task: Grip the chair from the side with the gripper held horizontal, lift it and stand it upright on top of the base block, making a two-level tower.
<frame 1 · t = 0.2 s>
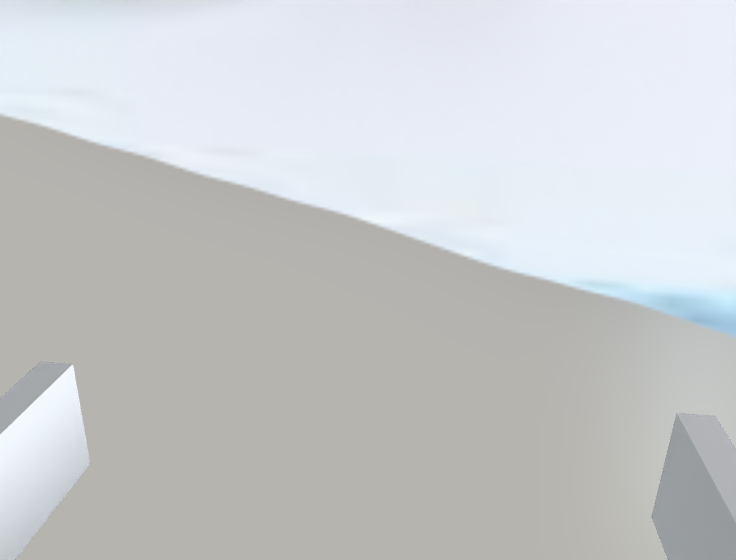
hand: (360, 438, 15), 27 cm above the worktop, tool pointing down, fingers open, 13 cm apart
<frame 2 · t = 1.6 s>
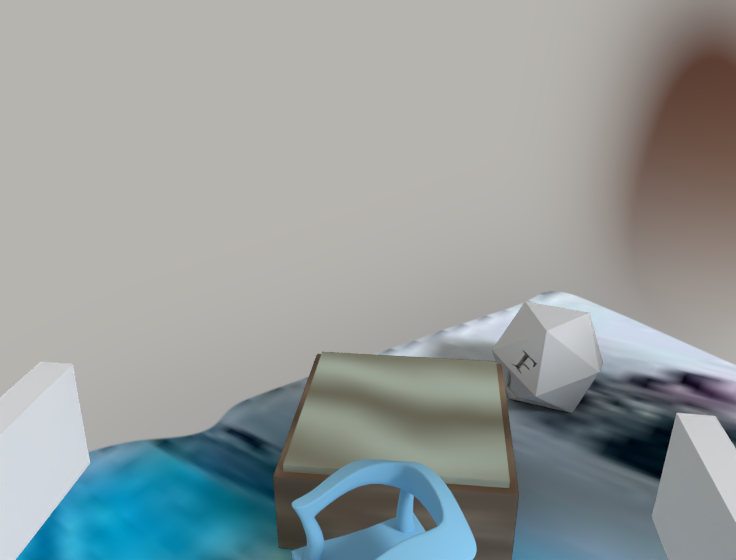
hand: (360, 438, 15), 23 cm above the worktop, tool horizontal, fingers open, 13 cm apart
base block: (400, 478, 47), on the worktop
die: (543, 398, 56), on the worktop
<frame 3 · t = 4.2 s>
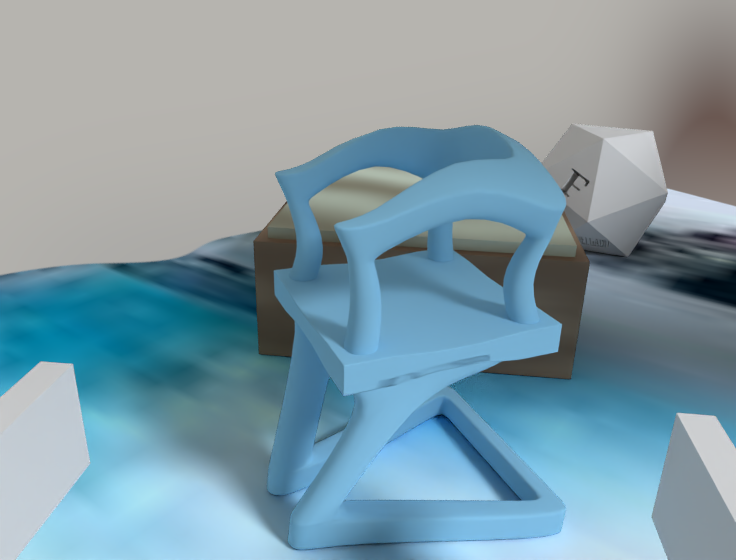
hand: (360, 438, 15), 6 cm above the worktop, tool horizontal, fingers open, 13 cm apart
chair: (395, 490, 23), on the worktop
base block: (419, 301, 36), on the worktop
die: (590, 246, 46), on the worktop
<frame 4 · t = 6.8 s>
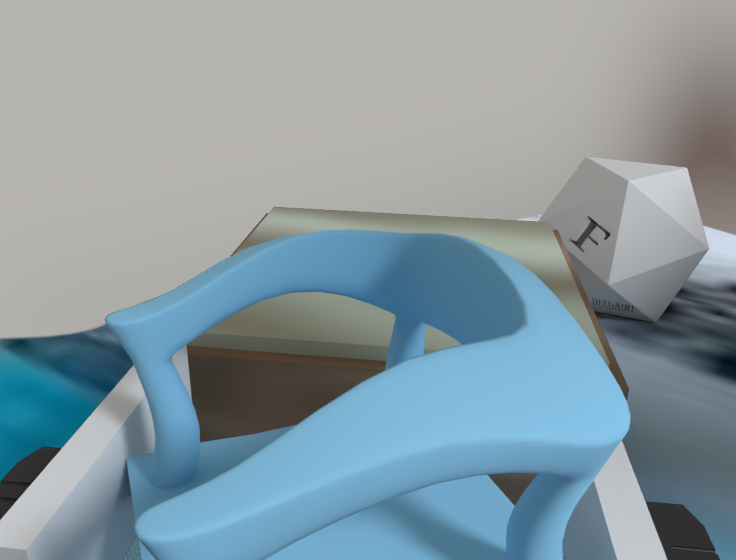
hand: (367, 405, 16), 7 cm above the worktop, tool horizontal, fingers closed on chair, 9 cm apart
base block: (393, 398, 28), on the worktop
die: (607, 306, 37), on the worktop
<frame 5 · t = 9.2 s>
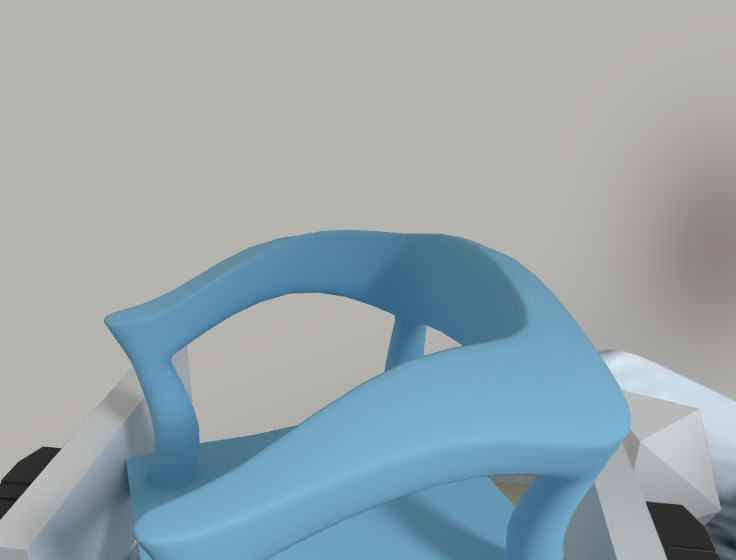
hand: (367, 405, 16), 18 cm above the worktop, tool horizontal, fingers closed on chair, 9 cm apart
die: (618, 529, 37), on the worktop
when the fingers open (14 cm above the worktop, at t = 11.7 s): chair drops 1 cm, resting on base block.
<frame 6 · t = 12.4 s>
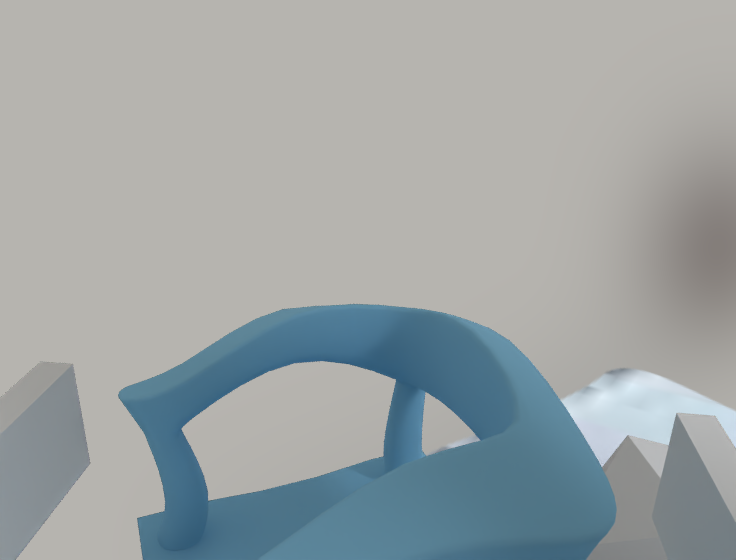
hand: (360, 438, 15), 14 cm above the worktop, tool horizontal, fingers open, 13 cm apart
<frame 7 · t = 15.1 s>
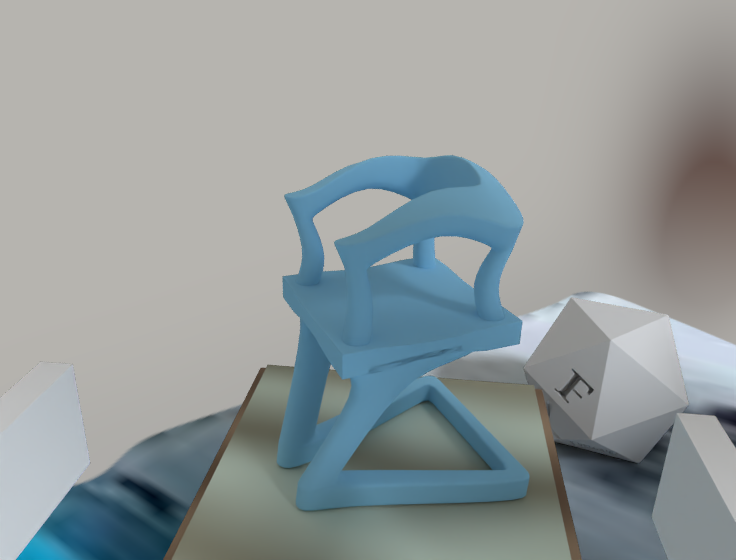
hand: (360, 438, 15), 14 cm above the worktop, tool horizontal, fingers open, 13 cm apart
chair: (386, 464, 27), point 6 cm above the worktop, touching base block
die: (593, 439, 38), on the worktop
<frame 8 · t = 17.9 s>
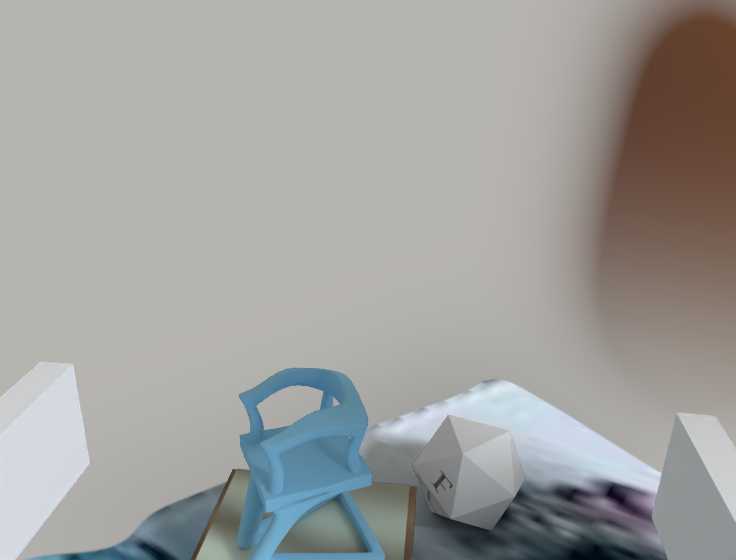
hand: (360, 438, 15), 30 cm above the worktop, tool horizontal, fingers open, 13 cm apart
chair: (304, 545, 44), point 6 cm above the worktop, touching base block
die: (465, 511, 55), on the worktop
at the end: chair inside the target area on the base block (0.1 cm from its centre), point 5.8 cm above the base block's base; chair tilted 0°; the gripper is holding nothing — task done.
